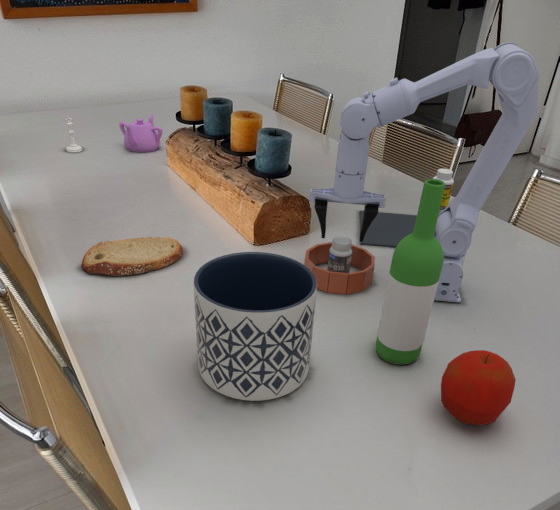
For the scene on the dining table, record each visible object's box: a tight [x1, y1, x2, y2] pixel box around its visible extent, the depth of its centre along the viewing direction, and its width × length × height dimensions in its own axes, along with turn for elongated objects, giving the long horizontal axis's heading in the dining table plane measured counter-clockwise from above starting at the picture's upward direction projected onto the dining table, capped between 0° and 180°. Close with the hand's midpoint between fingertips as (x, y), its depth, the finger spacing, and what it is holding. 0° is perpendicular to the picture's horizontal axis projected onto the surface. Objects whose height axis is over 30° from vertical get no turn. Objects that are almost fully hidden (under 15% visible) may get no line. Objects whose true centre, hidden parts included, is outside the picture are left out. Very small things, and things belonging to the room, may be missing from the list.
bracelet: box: [303, 241, 376, 295], centre depth 114 cm, size 14×14×4 cm
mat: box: [359, 210, 436, 248], centre depth 136 cm, size 20×20×1 cm
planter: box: [193, 251, 318, 402], centre depth 85 cm, size 18×18×16 cm
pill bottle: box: [326, 235, 353, 273], centre depth 113 cm, size 5×5×8 cm
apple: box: [440, 349, 517, 426], centre depth 80 cm, size 10×10×12 cm
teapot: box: [118, 113, 163, 153], centre depth 176 cm, size 12×14×9 cm
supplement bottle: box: [432, 168, 455, 213], centre depth 145 cm, size 6×6×10 cm
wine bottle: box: [375, 178, 445, 366], centre depth 85 cm, size 8×8×30 cm
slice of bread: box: [81, 236, 184, 277], centre depth 116 cm, size 18×18×4 cm
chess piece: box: [65, 115, 83, 153], centre depth 170 cm, size 5×5×10 cm
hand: (342, 238), depth 110 cm, fingers open, 7 cm apart
